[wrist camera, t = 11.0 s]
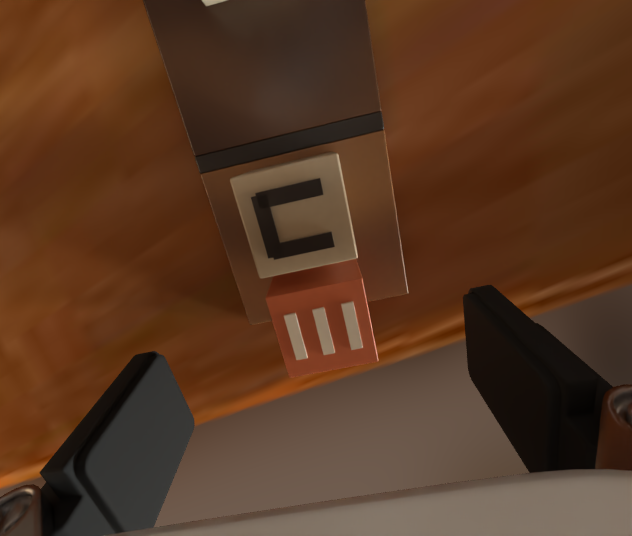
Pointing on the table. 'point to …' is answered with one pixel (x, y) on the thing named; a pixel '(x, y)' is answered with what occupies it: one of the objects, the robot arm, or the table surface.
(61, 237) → the table surface
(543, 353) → the robot arm
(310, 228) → the tile
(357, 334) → the three-striped orange cube
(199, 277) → the table surface
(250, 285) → the letter board
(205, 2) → the tile
